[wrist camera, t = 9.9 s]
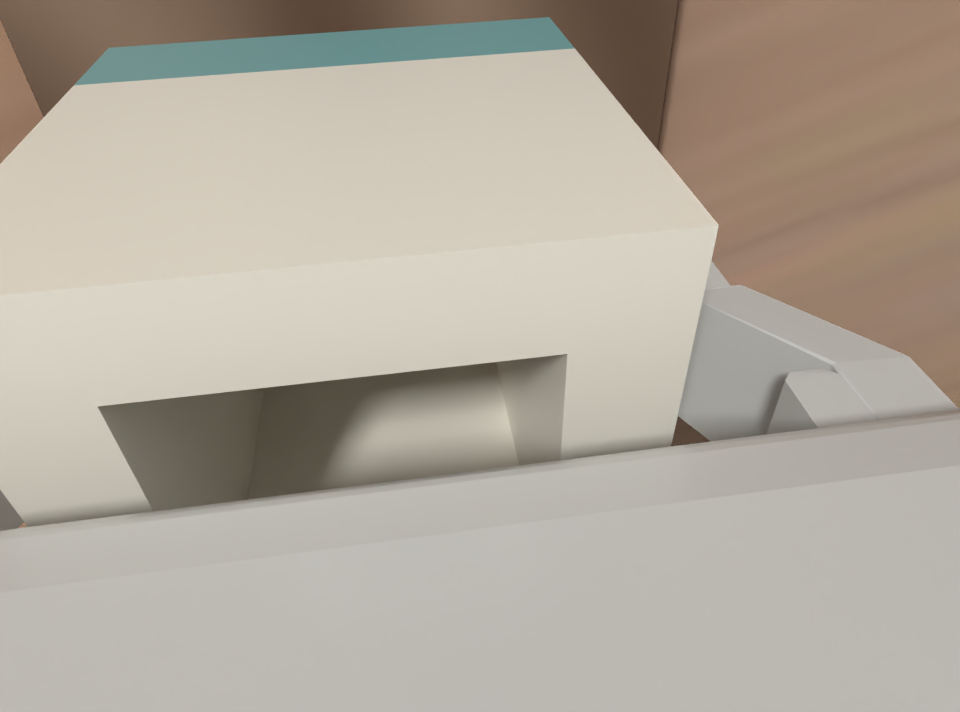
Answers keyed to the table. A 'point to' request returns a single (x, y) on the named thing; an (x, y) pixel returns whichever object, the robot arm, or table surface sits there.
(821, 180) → the table surface
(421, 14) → the pin board
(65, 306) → the cream sleeve
